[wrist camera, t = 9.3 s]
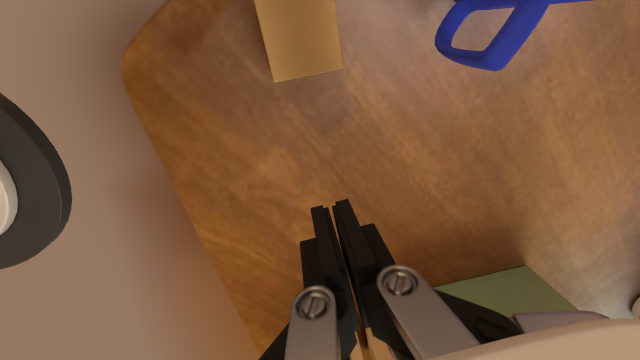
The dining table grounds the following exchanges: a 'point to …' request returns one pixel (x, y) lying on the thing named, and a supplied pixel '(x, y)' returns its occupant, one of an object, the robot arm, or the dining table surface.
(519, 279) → the cabinet
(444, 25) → the mug
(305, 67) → the block
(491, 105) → the dining table surface
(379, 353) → the drawer
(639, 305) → the pill bottle
